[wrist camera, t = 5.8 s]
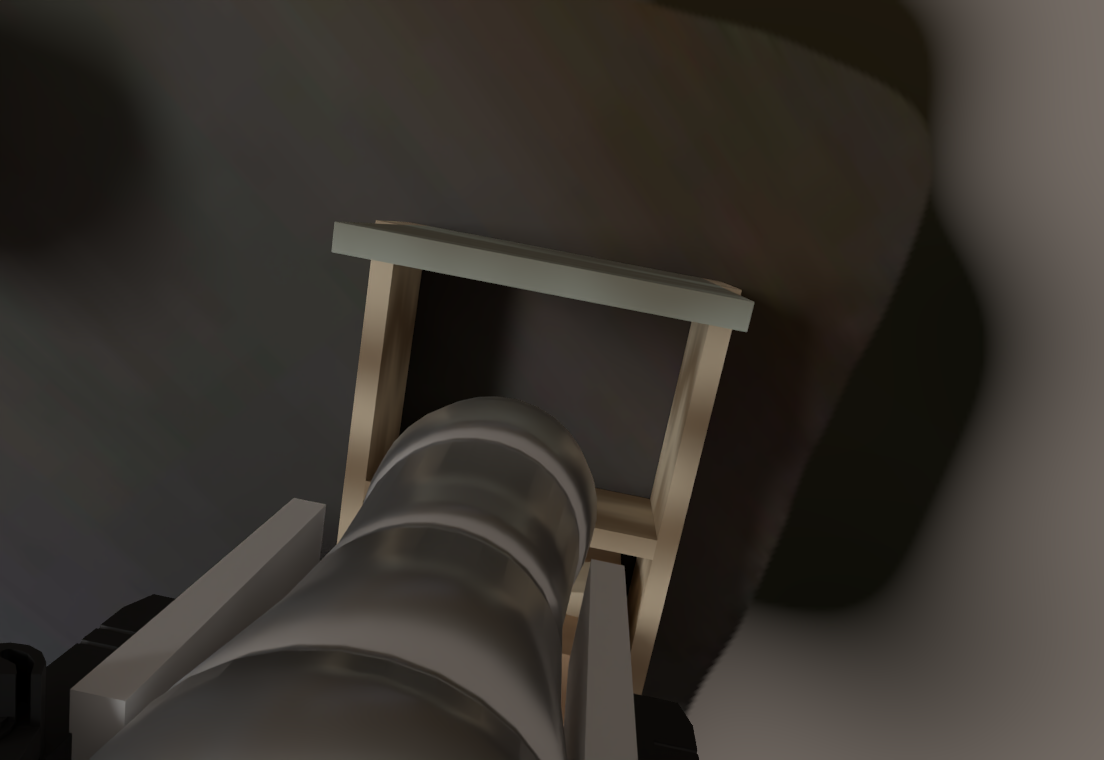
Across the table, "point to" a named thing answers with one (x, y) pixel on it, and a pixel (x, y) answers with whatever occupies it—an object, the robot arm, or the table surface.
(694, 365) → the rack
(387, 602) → the plastic bottle
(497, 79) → the table surface
